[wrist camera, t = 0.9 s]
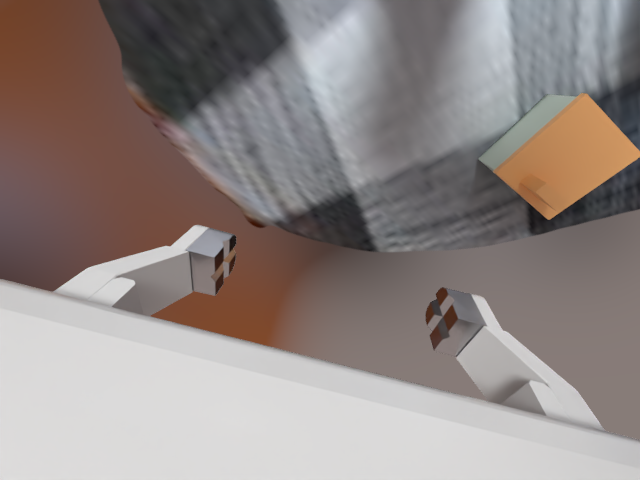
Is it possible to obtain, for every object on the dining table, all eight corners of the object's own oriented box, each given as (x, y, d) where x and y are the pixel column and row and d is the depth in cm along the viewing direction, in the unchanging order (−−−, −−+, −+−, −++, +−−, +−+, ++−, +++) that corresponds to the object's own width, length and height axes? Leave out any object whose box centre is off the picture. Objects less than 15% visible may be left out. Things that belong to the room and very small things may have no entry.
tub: (546, 94, 39) (580, 96, 33) (593, 142, 41) (632, 153, 36) (478, 158, 45) (495, 171, 39) (522, 198, 48) (545, 214, 42)
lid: (575, 92, 34) (613, 95, 29) (629, 151, 36) (673, 163, 31) (489, 169, 40) (508, 182, 35) (541, 214, 43) (565, 232, 38)
